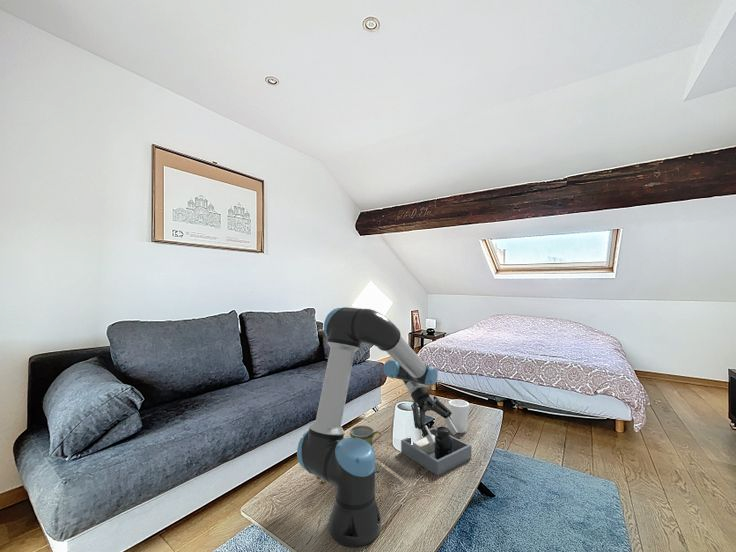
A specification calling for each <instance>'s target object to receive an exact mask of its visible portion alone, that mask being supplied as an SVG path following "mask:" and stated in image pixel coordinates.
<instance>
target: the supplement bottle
mask: <svg viewBox="0 0 736 552" xmlns="http://www.w3.org/2000/svg"><path fill="white" fill-rule="evenodd" d="M436 429H437V434H436V435H435V438H434V440H435V459H437V460H438V459H440V458H442V457H445V456H447V455H449V454H451V453H452V438H451V436H452V435H451V436H450V429H449V427H448V426H438V427H437V428H436Z"/></svg>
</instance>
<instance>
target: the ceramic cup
mask: <svg viewBox="0 0 736 552" xmlns="http://www.w3.org/2000/svg"><path fill="white" fill-rule="evenodd" d="M377 434H379V436H378V438H376V439H375V440H374V441H373V438H374V437H375V435H377ZM349 435H350V436H349V437H352V438H360V439H363V440H365V441H366V442H368V443H369V444H370V445H371V446H372V447H373V446H374V444H375V443H376V442H377V441H378V440H379V439H381V435H382V434H381V432H380V431H377V430H376V431H375V430H374V428H373V427H371V426H369V425H364V424H362V425H361V424H360V425H356V426H353V427H351V428H350V429H349Z"/></svg>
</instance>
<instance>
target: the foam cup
mask: <svg viewBox="0 0 736 552" xmlns="http://www.w3.org/2000/svg"><path fill="white" fill-rule="evenodd" d="M448 409H449V410H450V411H451V412H452V414H451V416H450V418H451V420H452V421H453V423H454V426H455V428H456V430H457V431H458V432H457V433H458V434H463V433H466V432H467V425H468V419H469V418H468V417H469V410H470V403H469V402H468V401H466V400H463V399H451V400H449V401H448Z"/></svg>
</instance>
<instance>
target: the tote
mask: <svg viewBox="0 0 736 552" xmlns="http://www.w3.org/2000/svg"><path fill="white" fill-rule="evenodd" d="M428 429H429V431H430V433H431V435H434V436H435V435H436V434H437V428H436V427H431V428H428ZM449 435H450V434H449ZM422 436H423V438H425V437H426V436H424V434H423V433H422ZM450 436H451V438H452V453H451V454H449V455H447V456H445V457H442V458H440V459H438V460H437V459H435V451H433V452H431V453H429V454H427V453H425V452H423V451H422V450H420V449H418V448H417V447H415V446H413V445H411V438H408V437H406V438H403V439H400V453H402V454H403V455H404V456H406V457H407V458H409V459H411V460H412V461H414V462H415V463H417V464H419V465H420V466H421V467H423V468H424V469H426V470H428V471H429V472H430V473H432V474H434V475H436V476H438V477H439V476H441V475H444V473H446V472H448V471H450V470H452V469H454V468H455V467H457V466H460V465H461V464H463V463H465V462H466V461H469V460H471V459H472V445H471V444H469V443H467V442H466V441H463V440H461V439H459V438H456V437H455V436H454V435H450Z"/></svg>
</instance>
